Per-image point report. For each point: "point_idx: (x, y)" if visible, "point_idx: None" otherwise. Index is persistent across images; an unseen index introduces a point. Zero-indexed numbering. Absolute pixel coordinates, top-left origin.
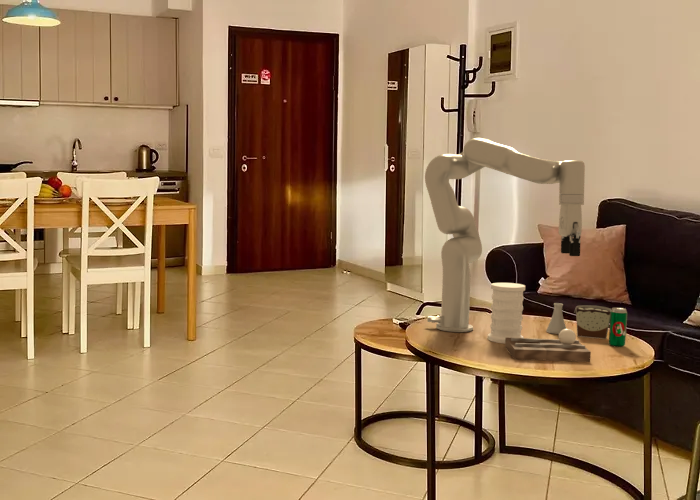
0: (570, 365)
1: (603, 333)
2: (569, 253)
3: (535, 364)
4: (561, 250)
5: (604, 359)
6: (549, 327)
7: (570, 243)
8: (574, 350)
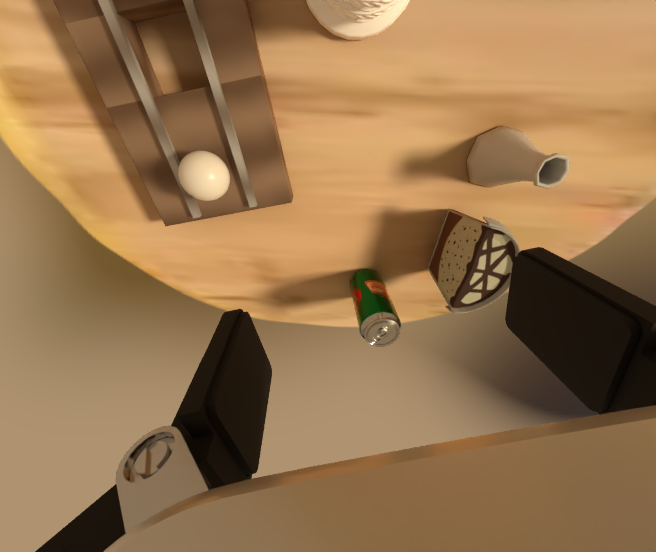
0: (111, 171)
1: (434, 267)
2: (227, 320)
3: (54, 72)
4: (539, 259)
5: (219, 248)
6: (498, 136)
7: (181, 416)
8: (155, 188)
